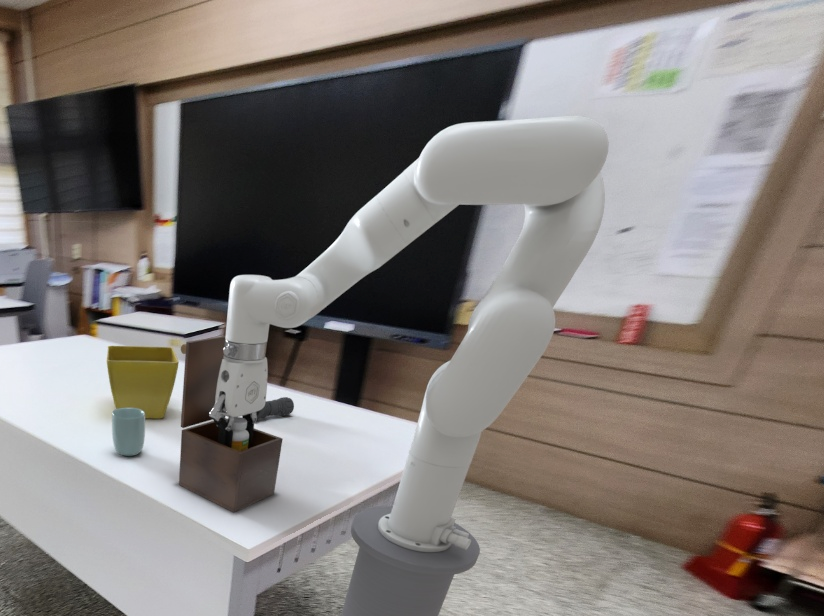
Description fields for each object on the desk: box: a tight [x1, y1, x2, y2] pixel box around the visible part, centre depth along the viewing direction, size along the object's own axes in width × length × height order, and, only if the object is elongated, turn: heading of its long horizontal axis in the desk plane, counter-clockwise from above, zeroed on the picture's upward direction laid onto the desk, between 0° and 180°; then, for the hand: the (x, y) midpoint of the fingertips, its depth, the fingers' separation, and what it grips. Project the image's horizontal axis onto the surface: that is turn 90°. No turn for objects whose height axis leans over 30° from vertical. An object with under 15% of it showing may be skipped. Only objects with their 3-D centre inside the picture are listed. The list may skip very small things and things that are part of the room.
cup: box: [111, 408, 146, 457], centre depth 122 cm, size 8×8×10 cm
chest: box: [178, 417, 284, 513], centre depth 106 cm, size 16×13×12 cm
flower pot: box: [106, 345, 180, 419], centre depth 147 cm, size 19×19×17 cm
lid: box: [180, 335, 226, 429], centre depth 105 cm, size 17×13×6 cm
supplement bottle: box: [226, 416, 249, 451], centre depth 103 cm, size 5×5×10 cm
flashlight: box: [257, 396, 295, 420], centre depth 149 cm, size 15×5×5 cm, turn 117°
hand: (234, 443), depth 103 cm, fingers closed on supplement bottle, 5 cm apart
